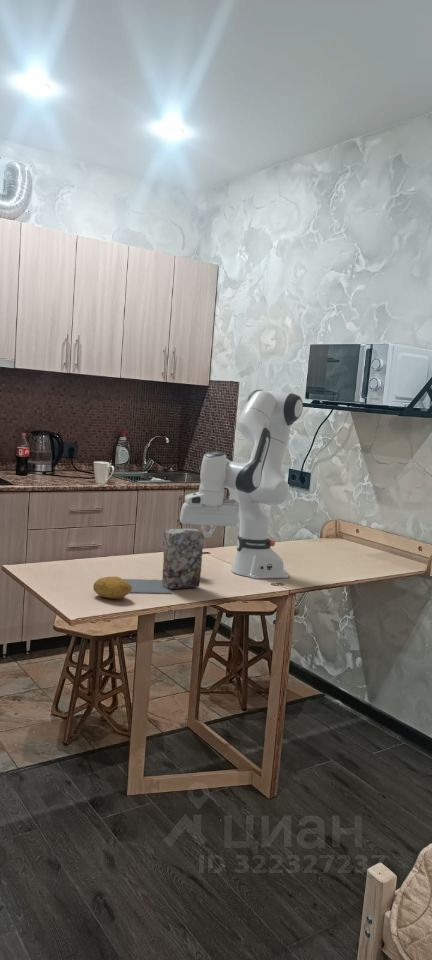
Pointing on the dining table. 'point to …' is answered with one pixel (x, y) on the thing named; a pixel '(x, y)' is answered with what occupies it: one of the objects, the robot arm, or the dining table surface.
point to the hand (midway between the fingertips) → (207, 537)
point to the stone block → (182, 558)
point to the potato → (112, 587)
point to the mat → (147, 586)
